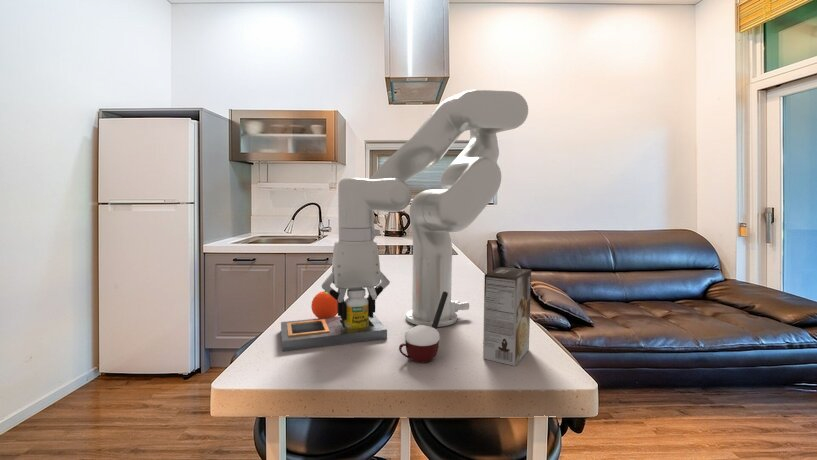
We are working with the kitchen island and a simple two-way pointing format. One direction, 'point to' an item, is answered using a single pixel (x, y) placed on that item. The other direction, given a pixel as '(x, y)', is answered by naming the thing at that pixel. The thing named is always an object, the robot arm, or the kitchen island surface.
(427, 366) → the kitchen island surface
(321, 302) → the clementine
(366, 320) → the supplement bottle
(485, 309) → the coffee box
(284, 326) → the two-pocket grey tray
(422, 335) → the cocoa
